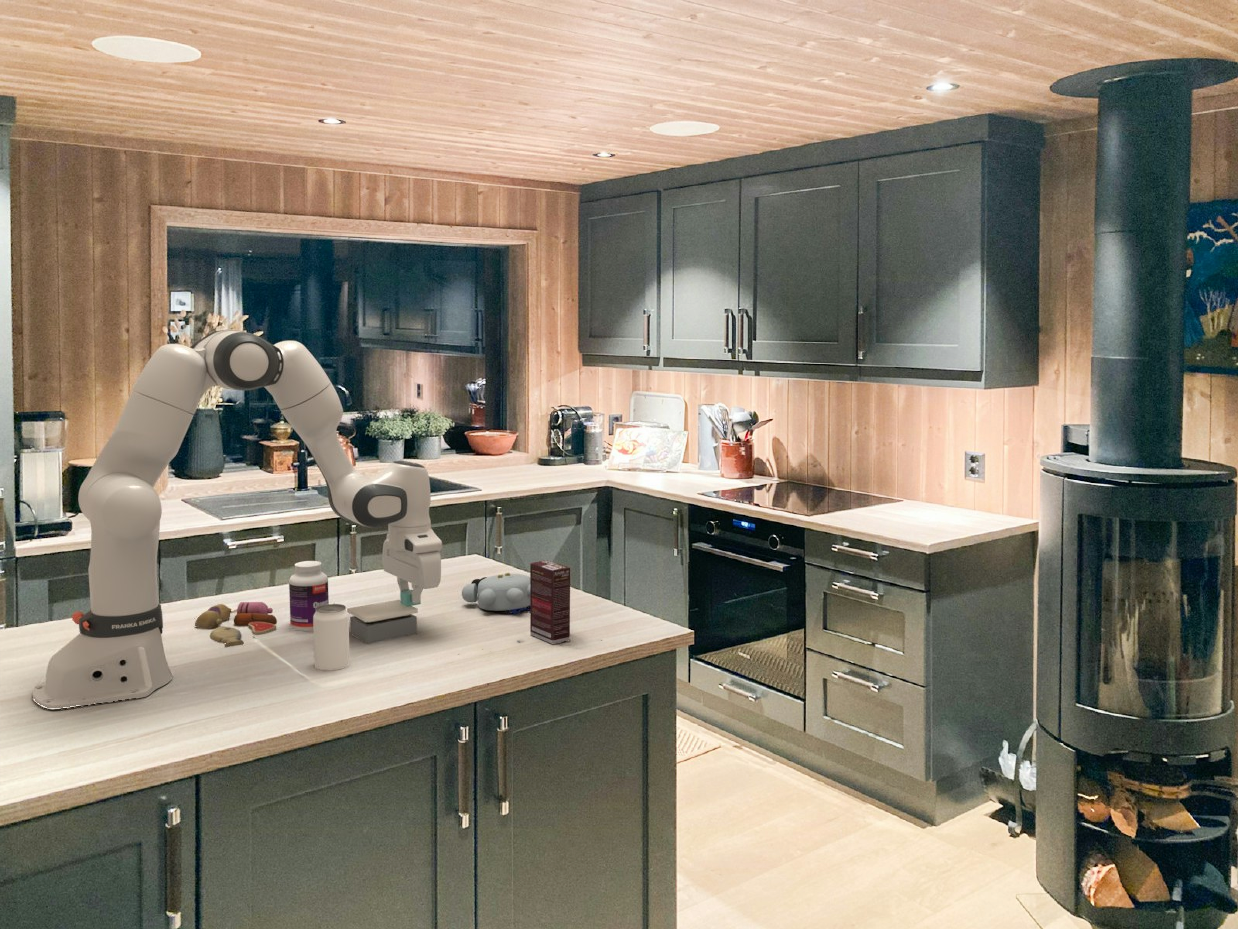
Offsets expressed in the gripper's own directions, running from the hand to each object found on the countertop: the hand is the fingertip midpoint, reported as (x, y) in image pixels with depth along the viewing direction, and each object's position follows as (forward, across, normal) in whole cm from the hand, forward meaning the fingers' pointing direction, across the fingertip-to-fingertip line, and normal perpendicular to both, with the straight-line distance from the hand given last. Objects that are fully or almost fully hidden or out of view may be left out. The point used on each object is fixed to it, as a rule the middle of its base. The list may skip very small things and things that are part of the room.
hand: (410, 600), depth 216 cm
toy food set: (+8, -26, -28) cm, 39 cm away
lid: (+2, 0, -5) cm, 6 cm away
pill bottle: (+7, -15, -16) cm, 23 cm away
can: (+7, +12, -23) cm, 26 cm away
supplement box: (+7, +21, +22) cm, 31 cm away
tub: (+7, 0, -6) cm, 9 cm away
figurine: (+7, -6, +27) cm, 28 cm away
